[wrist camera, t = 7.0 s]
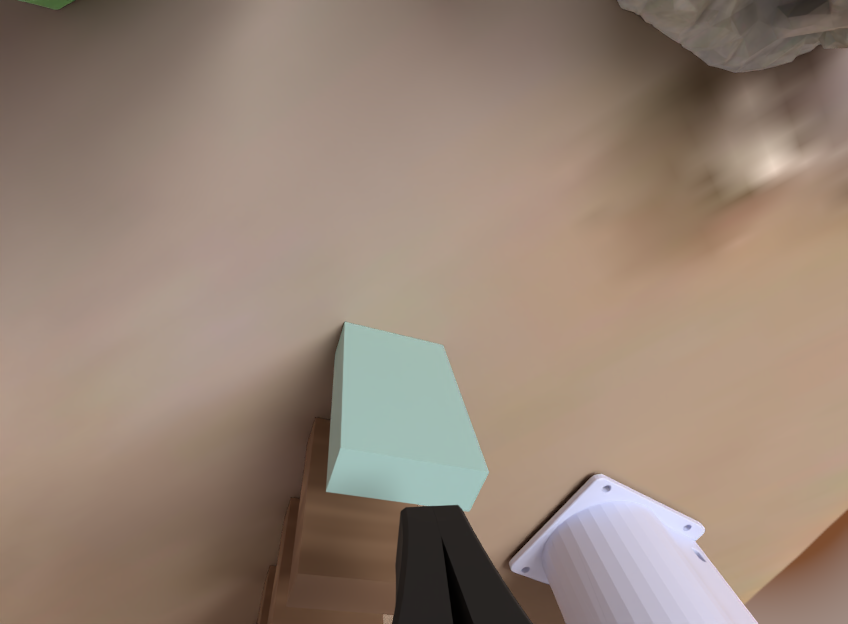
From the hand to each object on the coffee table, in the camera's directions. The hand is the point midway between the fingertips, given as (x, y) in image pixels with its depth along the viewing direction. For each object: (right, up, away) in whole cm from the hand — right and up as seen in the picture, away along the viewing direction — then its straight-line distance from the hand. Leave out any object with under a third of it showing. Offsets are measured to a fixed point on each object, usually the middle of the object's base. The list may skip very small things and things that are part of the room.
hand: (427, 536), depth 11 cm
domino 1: (-3, -1, +11) cm, 12 cm away
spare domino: (-2, +4, +9) cm, 10 cm away
